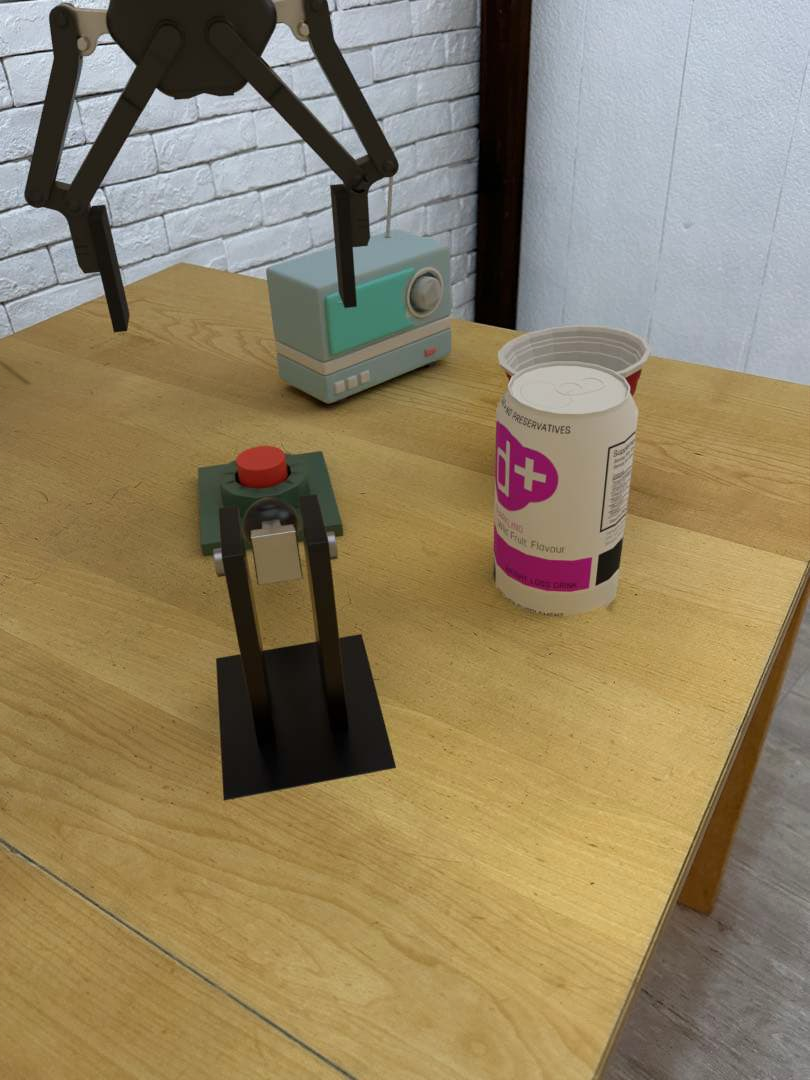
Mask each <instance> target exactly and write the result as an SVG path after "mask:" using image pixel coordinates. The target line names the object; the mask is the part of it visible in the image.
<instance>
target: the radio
mask: <svg viewBox="0 0 810 1080" xmlns="http://www.w3.org/2000/svg"><path fill="white" fill-rule="evenodd" d="M391 149H392V151H393V153H394V155H395V156H396V154H395V153H396V152H397V149H396V146H393V147H391ZM393 187H394V176H392V177H390V178H389V177H388V189H387V190H388V191H387V192H388V193H387V209H386V225H385V227H386V228H385V232H381V233H379V234H374V235H370V239H369V242H368V246H361V247H353V258H354V272H355V286H356V300H357V307H350V308H344V305H343V302H342V300H341V297H340V295H339V288H338V276H337V264H336V252H335V246H334V247H330V248H328V249H327V248H326V249H324V250H323V249H322V250H320V251H317V252H314V253H313V252H312V253H310V254H306V255H304V256H299V257H297V258H293V259H290V260H286V261H283V262H280V263H276V264H273V265H270V266H268V267H266V269H265V275H266V282H267V290H268V299H269V305H270V312H271V313H270V315H271V322H272V329H273V336H274V339H275V340H274V344H275V352H276V359H277V368H278V375H279V378H280V380H281V381H282V382H284V383H287V384H288V385H290V386H292V387H294V388H296V389H297V390H299V391H301V392H304V393H306V394H308V395H310V396H312V397H313V398H315V399H317V400H319V401H320V402H323V403H325V404H327V405H329V404H332V403H336V404H341V403H344V402H346V401H347V400H348V397H350V396H353V395H355V394H357V393H360V392H362V391H365V390H368V389H370V388H373V387H374V386H377V385H379V384H380V385H381V384H382V383H384V382H385V383H386V382H387V381H390V380H392V379H394V378H397V377H400V376H402V375H404V374H406V373H409V372H412V371H414V370H416V369H418V368H421V367H432V366H434V365H436V361H438V360H441V359H444V358H446V357H448V356H450V354H452V329H451V328H452V316H451V314H452V302H451V301H452V292H451V291H452V279H451V276H452V275H451V271H452V270H451V246H450V245H449V244H448V243H445V242H442V241H438V240H434V239H431V238H428V237H425V236H422V235H419V234H415V233H412V232H409V231H405V230H401V229H392V230H391V220H392V219H391V218H392V203H393V201H392V200H393Z"/></svg>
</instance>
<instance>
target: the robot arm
mask: <svg viewBox="0 0 810 1080" xmlns="http://www.w3.org/2000/svg"><path fill="white" fill-rule="evenodd" d="M330 12H331V11H330V7H329V2H328V0H109V2H108V6H107V9H102V8H88V7H76V6H75V5H73V4H72V3H70V2H67V1H64V2H60V3H59V4H57V5H55V6H54V7H53V8H51V10H50V11H49V14H48V23H49V31H50V39H51V40H50V41H51V48H52V55H53V56H52V57H53V60H52V65H51V69H50V74H49V78H48V83H47V87H46V90H45V91H46V92H45V96H44V99H43V100H44V101H43V104H42V105H43V106H42V110H41V114H40V119H39V124H38V129H37V132H36V138H35V141H34V146H33V151H32V155H31V159H30V163H29V164H30V165H29V170H28V174H27V178H26V183H25V188H24V191H23V195H24V197H23V198H24V200H25V202H26V203H27V204H28V205H29V206H30V207H32V208H34V209H42V208H45V209H47V210H51V211H55V212H58V213H60V214H61V215H62V216H64V219H66V222H67V225H68V229H69V233H70V237H71V242H72V245H73V249H74V253H75V258H76V261H77V265H78V267H79V268H80V270H81V271H82V272H83V274H84V275H85V274H97V273H99V274H100V279H101V283H102V287H103V291H104V297H105V300H106V304H107V309H108V313H109V318H110V322H111V326H112V330H113V333H122V332H128V329H129V321H130V309H129V305H128V300H127V296H126V291H125V287H124V282H123V278H122V274H121V270H120V269H121V268H120V264H119V260H118V256H117V251H116V246H115V241H114V236H113V233H112V228H111V224H110V220H109V219H110V218H109V215H108V210H107V206H106V204H97V205H96V204H95V205H91V202H92V201H93V199H94V197H95V195H96V194H97V192H98V190H99V188H100V186H101V184H102V183H103V181H104V179H105V178H106V176H107V174H108V173H109V171H110V169H111V167H112V165H113V164H114V162H115V160H116V158H117V156H118V155H119V153H120V151H121V149H122V148H123V146H124V145H125V142H126V141H127V139H128V137H129V136H130V134H131V132H132V130H133V129H134V127H135V125H136V123H137V122H138V120H139V118H140V116H141V115H142V113H143V112H144V110H145V108H146V107H147V105H148V103H149V102H150V100H151V98H152V97H153V94H154V93H155V91H156V90H158V91H159V92H160V93H162V94H163V95H165V96H167V97H170V98H173V100H174V101H176V100H190V99H192V98H195V97H198V96H200V95H202V94H206V95H210V96H215V97H231V96H232V97H233V96H235V93H238V92H240V91H241V90H243V89H244V88H245V87H246V85H247V84H249V85H250V86H251V87H252V88H253V89H254V90H255V91H256V92H257V93H258V94H259V95H260V97H261V98H263V100H264V101H265V102H266V103H268V104H269V105H270V106H271V107H272V108H273V109H274V110H275V111H276V113H277V114H278V115H279V116H280V117H281V118H282V119H283V120H284V121H285V122H286V123H287V124H288V125H289V126H290V127H291V128H292V129H293V131H294V132H295V133H296V134H298V136H299V138H300V139H302V140H303V141H304V143H306V145H308V147H309V148H310V149H311V150H313V152H314V153H315V154H316V155H317V156H318V157H319V158H320V159H321V161H323V163H325V165H326V166H327V167H328V168H329V169H330V170H331V171H332V172H333V173H334V174H335V175H336V176H337V177H338V178H339V179H340V180H341V181H342V183H337V184H330V185H329V190H330V191H329V192H330V201H331V215H332V227H333V239H334V247H335V252H336V264H337V276H338V288H339V295H340V297H341V300H342V302H343V305H344V308H350V307H357V300H356V286H355V272H354V258H353V247H361V246H368V242H369V239H370V237H371V229H370V225H371V224H370V212H369V211H370V209H369V191H370V188H371V187H372V186H373V185H374V184H375V183H377V182H378V181H381V180H382V179H385V178H388V179H389V178H390V177H392V176H393V177H395V175H397V174H398V171H399V167H400V164H399V162H398V161H399V160H398V159H397V157H396V154H395V155H394V153H393V151H392V147H391V145H390V144H389V141H388V140H387V137H386V135H385V134H384V132H383V130H382V128H381V126H380V124H379V122H378V120H377V118H376V117H375V114H374V112H373V110H372V109H371V107H370V105H369V103H368V101H367V99H366V97H365V96H364V94H363V92H362V90H361V88H360V86H359V84H358V82H357V80H356V78H355V76H354V75H353V73H352V71H351V68H350V67H349V65H348V63H347V61H346V59H345V58H344V55H343V54H342V52H341V50H340V48H339V45H338V43H337V42H336V40H335V36H334V30H333V24H332V19H331V13H330ZM277 24H283V25H286V26H288V27H289V30H290V32H291V34H292V36H294V38H295V40H297V41H299V42H302V43H308V45H309V48H310V50H311V52H312V54H313V56H314V58H315V60H316V62H317V63H318V65H319V67H320V69H321V71H322V73H323V75H324V76H325V78H326V80H327V82H328V83H329V86H330V87H331V90H332V92H333V93H334V95H335V97H336V99H337V101H338V103H339V104H340V106H341V108H342V110H343V112H344V113H345V115H346V117H347V119H348V120H349V122H350V124H351V126H352V129H353V130H354V132H355V134H356V135H357V137H358V139H359V141H360V143H361V144H362V146H363V148H364V150H365V152H366V154H365V155H363V156H360V157H358V158H357V159H355V158H354V157H353V156H352V155H351V153H350V152H349V151H348V150H347V149H346V148H345V147H344V146H343V145H342V144H341V142H340V141H339V140H338V139H337V138H336V137H335V136H334V135H333V133H331V131H329V129H327V127H326V126H325V125H324V124H323V123H322V122H321V121H320V119H318V118H317V116H316V115H314V113H313V112H312V111H311V110H310V109H309V107H308V106H307V105H305V103H304V102H303V101H302V100H301V99H300V98H299V97H298V96H297V94H296V93H295V92H294V91H293V90H292V89H291V88H290V87H289V86H288V84H286V83H285V81H284V80H283V79H282V78H281V77H280V76H279V75H278V73H277V72H276V71H275V70H274V69H273V68H272V67H271V66H270V65H269V63H268V62H267V61H266V60H265V59H264V58H263V57H262V56H263V54H264V52H265V50H266V48H267V46H268V44H269V42H270V40H271V39H272V36H273V34H274V32H275V30H276V28H277ZM103 35H109V36H110V37H111V39H112V40H113V41H114V42H115V44H116V45H117V46H118V47H119V48H120V49H121V51H122V52H123V53H124V54H125V55H126V56H127V57H128V59H130V61H131V62H132V63H133V64H134V66H135V68H134V69H133V71H132V73H131V75H130V77H129V78H128V81H127V82H126V83H125V85H124V87H123V89H122V91H121V93H120V95H119V97H118V99H117V100H116V102H115V104H114V106H113V108H112V109H111V111H110V113H109V115H108V117H107V118H106V120H105V122H104V124H103V126H102V127H101V129H100V130H99V133H98V134H97V136H96V138H95V139H94V141H93V144H92V145H91V147H90V149H89V151H88V152H87V154H86V156H85V158H84V160H82V161H83V162H82V163H81V165H80V166H79V169H78V170H77V172H76V174H75V176H74V177H73V179H72V181H71V183H66V182H64V181H61V180H60V181H59V180H57V177H58V171H59V168H60V166H61V165H60V164H61V160H62V156H63V151H64V147H65V143H66V138H67V135H68V130H69V126H70V121H71V117H72V113H73V109H74V104H75V101H76V96H77V92H78V87H79V84H80V79H81V75H82V69H83V63H84V57H90V56H92V54H94V53H95V51H96V50H97V48H98V44H99V43H98V42H99V38H100V37H101V36H103Z"/></svg>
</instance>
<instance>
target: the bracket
mask: <svg viewBox="0 0 810 1080" xmlns="http://www.w3.org/2000/svg"><path fill="white" fill-rule="evenodd" d="M298 503H299V511H300V519H301V527H302V535H303V549H304V557H305V565H306V573H307V582H308V588H309V596H310V597H309V598H310V604H311V612H312V620H313V626H314V627H313V628H314V635H315V641H311V642H305V643H300V644H299V643H298V644H294V645H287V646H281V647H276V648H275V647H274V648H269V649H264V646H263V641H262V635H261V629H260V623H259V617H258V611H257V606H256V601H255V594H254V588H253V584H252V576H251V571H250V564H249V561H248V554H247V550H246V548H245V542H244V536H243V530H242V525H241V519H240V513H239V507H238V506H231V507H224V508H219V509H218V511H219V525H220V540H221V548H218V549H214V550H213V555H212V556H213V563H214V569H215V574H216V577H217V578H222V577H223V578H224V577H225V581H226V586H227V593H228V598H229V603H230V607H231V612H232V618H233V623H234V628H235V634H236V638H237V643H238V644H237V645H238V649H239V654H234V655H228V656H222V657H216V658H215V664H216V666H215V667H216V681H217V682H216V683H217V684H216V685H217V703H218V717H219V718H218V723H219V734H220V735H219V739H220V757H221V759H220V760H221V777H222V795H223V797H222V798H223V801H224V802H225V801H229V800H235V799H240V798H246V797H249V796H250V797H252V796H257V795H261V794H267V793H272V792H278V791H283V790H289V789H293V788H298V787H303V786H304V787H305V786H309V785H315V784H320V783H324V782H330V781H336V780H342V779H346V778H350V777H357V776H361V775H366V774H372V773H377V772H382V771H388V770H393V769H397V764H396V761H395V757H394V754H393V750H392V747H391V741H390V739H389V734H388V731H387V727H386V723H385V719H384V715H383V711H382V708H381V703H380V699H379V696H378V695H379V694H378V692H377V687H376V685H375V680H374V676H373V673H372V668H371V664H370V662H369V657H368V654H367V649H366V645H365V642H364V639H363V634H362V633H359V634H353V635H348V636H341V637H340V633H339V625H338V624H339V623H338V615H337V605H336V595H335V587H334V578H333V568H332V561H333V560H338V559H339V552H338V551H339V550H338V544H337V538H336V537H335V533H334V532H333V531H332V532H326V529H325V525H324V520H323V516H322V512H321V508H320V504H319V500H318V496H317V494H314V495H307V496H300V497H298Z"/></svg>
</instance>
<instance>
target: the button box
mask: <svg viewBox="0 0 810 1080" xmlns="http://www.w3.org/2000/svg"><path fill="white" fill-rule="evenodd" d="M284 453H285V458H286V466H287V473H288V476H287V479H286V481H284V482H282V483H280V484H278V485H275V486H273V487H268V488H261V489H256V488H249V487H243V486H242V485H241V484H240V481H239V476H238V470H237V464H236V459H235V460H231V461H230V462H228V463H222V464H216V465H208V466H200V467H198V468H197V480H198V481H197V483H198V505H199V526H200V527H199V532H200V533H199V535H200V547H201V551H202V556H203V557H209V556H213V550H214V549H218V548H221V540H220V525H219V511H218V509H219V508H224V507H231V506H238V507H239V513H240V519H241V525H243V518H244V515H245V513H246V511H247V509H248V508H249V507H250V506H251V505H252V504H253V503H254V502H255V501H257V500H259V499H262V498H265V497H277V498H280V499H283V500H285V501H286V502H288V503H289V504H290V505H291V506H292V507H293V508H294V509H295V511H296V513H297V515H298V518H299V524H300V526H299V533H298V536H297V541H298V543H301V542H303V535H302V527H301V519H300V511H299V503H298V497H300V496H307V495H314V494H317V496H318V500H319V504H320V508H321V512H322V516H323V520H324V525H325V529H326V532H332V531H333V532H334V533H335V538H336V537H342V536H344V527H343V522H342V517H341V515H340V511H339V507H338V504H337V500H336V497H335V493H334V489H333V485H332V482H331V481H332V480H331V478H330V475H329V469H328V467H327V464H326V460H325V456H324V453H323V450H319V451H318V450H317V451H311V452H303V453H297V454H291V453H286V452H284ZM242 530H243V526H242ZM243 536H244V542H245V548H246V551H248V550H249V551H250V550H252V546H251V545H250V544H249V542H248V541H247V539H246V537H245V535H244V532H243Z"/></svg>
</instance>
